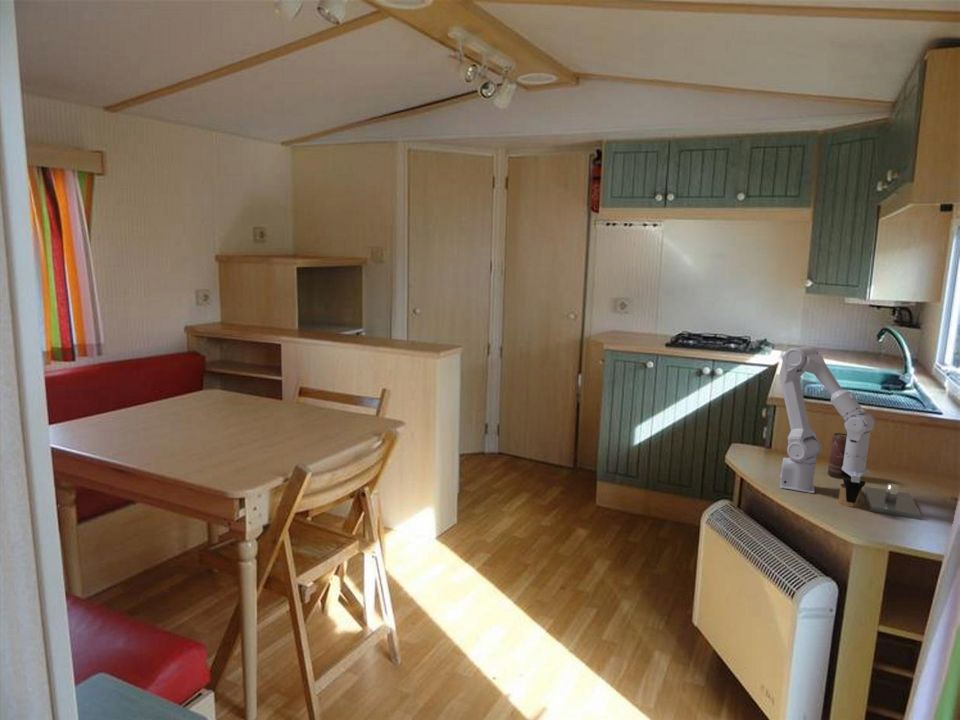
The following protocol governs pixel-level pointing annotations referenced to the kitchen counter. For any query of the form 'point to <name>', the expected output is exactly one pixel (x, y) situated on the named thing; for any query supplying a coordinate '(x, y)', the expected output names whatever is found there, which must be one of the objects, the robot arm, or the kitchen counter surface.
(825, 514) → the kitchen counter surface
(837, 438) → the can
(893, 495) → the piston jig
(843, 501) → the tan cup
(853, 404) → the robot arm
